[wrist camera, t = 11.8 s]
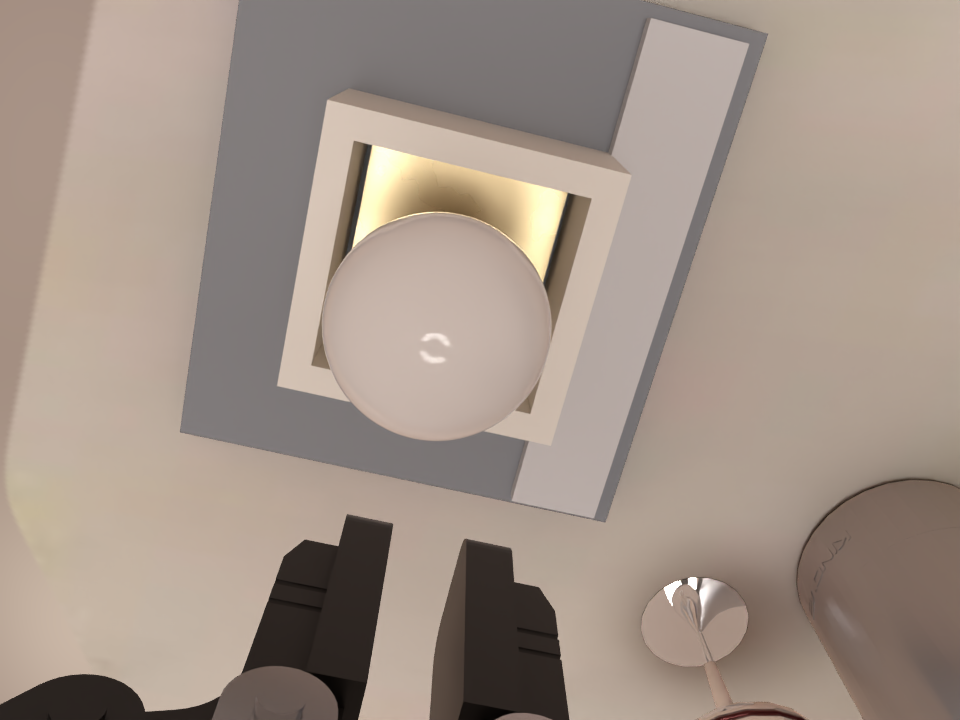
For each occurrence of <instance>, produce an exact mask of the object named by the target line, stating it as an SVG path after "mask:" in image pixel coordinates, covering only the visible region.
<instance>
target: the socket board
mask: <svg viewBox="0 0 960 720" xmlns="http://www.w3.org/2000/svg"><path fill="white" fill-rule="evenodd" d="M767 36H768V34H767V33H763V32H759V31H755V30H752V29H748V28H744V27H740V26H736V25H733V24H729V23H725V22H721V21H718V20H714V19H710V18H706V17H702V16H699V15H695V14H691V13H687V12H684V11H680V10H676V9H672V8H668V7H665V6H661V5H657V4H653V3H650V2H646V1H642V0H239V5H238V12H237V19H236V27H235V34H234V41H233V49H232V56H231V63H230V70H229V78H228V85H227V92H226V100H225V107H224V114H223V122H222V129H221V136H220V143H219V151H218V158H217V165H216V173H215V180H214V187H213V194H212V202H211V209H210V216H209V224H208V231H207V238H206V245H205V253H204V260H203V267H202V275H201V282H200V289H199V297H198V304H197V311H196V318H195V326H194V333H193V340H192V348H191V355H190V362H189V369H188V377H187V384H186V391H185V399H184V406H183V413H182V421H181V428H180V432H181V433H186V434H191V435H195V436H200V437H205V438H209V439H214V440H219V441H224V442H228V443H233V444H238V445H243V446H247V447H252V448H257V449H261V450H266V451H271V452H276V453H280V454H285V455H290V456H294V457H299V458H304V459H309V460H313V461H318V462H323V463H327V464H332V465H337V466H342V467H346V468H351V469H356V470H361V471H365V472H370V473H375V474H379V475H384V476H389V477H394V478H398V479H403V480H408V481H412V482H417V483H422V484H427V485H431V486H436V487H441V488H446V489H450V490H455V491H460V492H464V493H469V494H474V495H479V496H483V497H488V498H493V499H497V500H502V501H507V502H512V503H516V504H521V505H526V506H530V507H535V508H540V509H545V510H549V511H554V512H559V513H564V514H568V515H573V516H578V517H582V518H587V519H592V520H597V521H601V522H606V519H607V516H608V513H609V510H610V507H611V504H612V501H613V498H614V495H615V492H616V489H617V486H618V483H619V480H620V477H621V474H622V471H623V468H624V465H625V462H626V459H627V456H628V453H629V450H630V447H631V444H632V441H633V438H634V435H635V432H636V429H637V426H638V423H639V420H640V417H641V414H642V411H643V408H644V405H645V402H646V399H647V396H648V393H649V390H650V387H651V384H652V381H653V378H654V375H655V372H656V369H657V366H658V363H659V360H660V357H661V354H662V351H663V348H664V345H665V342H666V339H667V336H668V333H669V330H670V327H671V324H672V321H673V318H674V315H675V312H676V309H677V306H678V303H679V300H680V297H681V294H682V291H683V288H684V285H685V282H686V279H687V276H688V273H689V270H690V267H691V264H692V261H693V258H694V255H695V252H696V249H697V246H698V243H699V240H700V237H701V234H702V231H703V228H704V225H705V222H706V219H707V216H708V213H709V210H710V207H711V204H712V201H713V198H714V195H715V192H716V189H717V186H718V183H719V180H720V177H721V174H722V171H723V168H724V165H725V162H726V159H727V156H728V153H729V150H730V147H731V144H732V141H733V138H734V135H735V132H736V129H737V126H738V123H739V120H740V117H741V114H742V111H743V108H744V105H745V102H746V99H747V96H748V93H749V90H750V87H751V84H752V81H753V78H754V75H755V72H756V69H757V66H758V63H759V60H760V57H761V54H762V51H763V48H764V45H765V42H766V39H767ZM372 145H374V146H378V147H382V148H386V149H390V150H394V151H399V152H403V153H407V154H411V155H415V156H419V157H423V158H427V159H431V160H435V161H440V162H444V163H448V164H452V165H456V166H460V167H464V168H468V169H472V170H476V171H481V172H485V173H489V174H493V175H497V176H501V177H505V178H509V179H513V180H517V181H522V182H526V183H530V184H534V185H538V186H542V187H546V188H550V189H554V190H559V191H563V192H567V193H568V194H567V197H566V201H565V205H564V208H563V212H562V215H561V219H560V223H559V226H558V230H557V234H556V237H555V241H554V244H553V248H552V252H551V255H550V259H549V263H548V266H547V270H546V273H545V277H544V281H543V284H544V287H545V290H546V293H547V297H548V301H549V305H550V312H551V325H552V329H551V342H550V348H549V353H548V357H547V360H546V363H545V366H544V369H543V371H542V374H541V376H540V378H539V380H538V382H537V383H536V385H535V387H534V388H533V390H532V391H531V393H530V394H529V395H528V397H527V398H526V399H525V400H524V402H523V403H522V404H521V405H520V406H519V407H518V408H517V409H516V410H515V411H514V412H513V413H511V414H510V415H509V416H508V417H506V418H505V419H504V420H502V421H501V422H499V423H498V424H496V425H495V426H493V427H491V428H489V429H487V430H485V431H483V432H480V433H478V434H475V435H472V436H469V437H465V438H461V439H456V440H448V441H425V440H418V439H413V438H408V437H405V436H401V435H398V434H396V433H393V432H391V431H389V430H387V429H385V428H383V427H381V426H379V425H377V424H376V423H374V422H373V421H371V420H370V419H369V418H367V417H366V416H365V415H363V414H362V413H361V412H360V411H359V410H358V409H357V408H356V407H355V406H354V405H353V404H352V403H351V402H350V401H349V399H348V398H347V397H346V396H345V394H344V393H343V392H342V390H341V389H340V387H339V385H338V384H337V382H336V380H335V378H334V376H333V374H332V372H331V369H330V367H329V364H328V361H327V358H326V354H325V350H324V345H323V337H322V314H323V307H324V302H325V298H326V294H327V291H328V288H329V285H330V282H331V280H332V278H333V276H334V274H335V272H336V270H337V268H338V267H339V265H340V264H341V262H342V261H343V259H344V258H345V257H346V255H347V254H348V253H349V252H350V251H351V249H352V247H353V242H354V237H355V231H356V226H357V221H358V216H359V211H360V206H361V201H362V196H363V191H364V185H365V180H366V175H367V170H368V165H369V160H370V155H371V150H372Z"/></svg>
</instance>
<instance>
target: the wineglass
mask: <svg viewBox="0 0 960 720" xmlns="http://www.w3.org/2000/svg"><path fill="white" fill-rule="evenodd" d="M747 624H748V612H747V608H746V604H745V602H744V600H743V599H742V598H741V596H740V595H739V594H738V592H737V591H736V590H734V589H733V588H731V587H730V586H728V585H727V584H725V583H724V582H721V581H717V580H713V579H710V578H688V579H685V580H681V581H677V582H674V583H672V584H670V585H669V586H667V587H665V588H664V589H662V590H660V591H659V592H658V593H657V594H656V595H655V596H654V597H653V598H652V599H651V600H650V601H649V602H648V604H647V607H646V609H645V611H644V613H643V615H642V624H641V632H642V635H643V638H644V641H645V644H646V645H647V646H648V647H649V649H650V650H651V651H652V652H653V654H654V655H656V656H657V657H659V658H661V659H662V660H664V661H665V662H667V663H671V664H675V665H679V666H702V665H704V668H705V672H706V675H707V679H708V682H709V686H710V689H711V692H712V696H713V699H714V703H715V706H716V709H714V710H712V711H710V712H709V713H707V714H705V715H703V716H701V717H700V718H698V719H696V720H809V719H808V718H806V717H805V716H803V715H801V714H800V713H798V712H797V711H795V710H793V709H792V708H789V707H785V706H781V705H778V704H774V703H770V702H736V703H733V702H732V699H731V697H730V695H729V692H728V690H727V688H726V686H725V683H724V681H723V679H722V676H721V674H720V672H719V670H718V667H717V665H716V663H715V662H716V661H718V660H719V659H721V658H723V657H725V656H726V655H728V654H730V653H731V652H732V651H733V650H734V649H735V648H736V647H737V646H738V645H739V644H740V642H741V640H742V638H743V636H744V634H745V632H746V630H747Z"/></svg>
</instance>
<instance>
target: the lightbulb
mask: <svg viewBox="0 0 960 720" xmlns="http://www.w3.org/2000/svg"><path fill="white" fill-rule="evenodd" d="M551 329H552V325H551V312H550V305H549V301H548V297H547V293H546V290H545V287H544V284H543V282H542V280H541V278H540V275H539V274H538V272H537V270H536V268H535V266H534V265H533V263H532V262H531V260H530V259H529V258H528V256H527V255H526V254H525V253H524V251H523V250H522V249H521V248H520V247H519V246H518V245H517V244H516V243H515V242H514V241H513V240H512V239H510V238H509V237H508V236H507V235H505V234H504V233H503V232H501V231H500V230H498V229H497V228H495V227H493V226H491V225H490V224H488V223H485V222H483V221H481V220H479V219H476V218H473V217H470V216H466V215H462V214H458V213H451V212H422V213H416V214H411V215H407V216H403V217H400V218H397V219H395V220H392V221H390V222H388V223H386V224H384V225H382V226H380V227H378V228H377V229H375V230H374V231H372V232H371V233H369V234H368V235H366V236H365V237H364V238H363V239H362V240H360V241H359V242H358V243H357V244H356V245H355V246H354V247H353V248H352V249H351V251H350V252H349V253H348V254H347V255H346V257H345V258H344V259H343V261H342V262H341V264H340V265H339V267H338V268H337V270H336V272H335V274H334V276H333V278H332V280H331V282H330V285H329V288H328V291H327V294H326V298H325V302H324V307H323V314H322V337H323V345H324V350H325V354H326V358H327V361H328V364H329V367H330V369H331V372H332V374H333V376H334V378H335V380H336V382H337V384H338V385H339V387H340V389H341V390H342V392H343V393H344V394H345V396H346V397H347V398H348V399H349V401H350V402H351V403H352V404H353V405H354V406H355V407H356V408H357V409H358V410H359V411H360V412H361V413H362V414H363V415H365V416H366V417H367V418H369V419H370V420H371V421H373V422H374V423H376V424H377V425H379V426H381V427H383V428H385V429H387V430H389V431H391V432H393V433H396V434H398V435H401V436H405V437H408V438H413V439H418V440H425V441H448V440H456V439H461V438H465V437H469V436H472V435H475V434H478V433H480V432H483V431H485V430H487V429H489V428H491V427H493V426H495V425H496V424H498V423H499V422H501V421H502V420H504V419H505V418H506V417H508V416H509V415H510V414H511V413H513V412H514V411H515V410H516V409H517V408H518V407H519V406H520V405H521V404H522V403H523V402H524V400H525V399H526V398H527V397H528V395H529V394H530V393H531V391H532V390H533V388H534V387H535V385H536V383H537V382H538V380H539V378H540V376H541V374H542V371H543V369H544V366H545V363H546V360H547V357H548V353H549V348H550V342H551Z"/></svg>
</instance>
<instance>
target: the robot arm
mask: <svg viewBox="0 0 960 720" xmlns="http://www.w3.org/2000/svg"><path fill="white" fill-rule="evenodd" d="M392 529H393V524H392V523H387V522H382V521H377V520H372V519H368V518H363V517H358V516H353V515H348V514H347V516H346V520H345V524H344V528H343V531H342V535H341V539H340V543H339V546H334V545H329V544H324V543H319V542H314V541H309V540H304V541H303V542H301V543H300V544H299V545H298V546H296V547H295V548H294V549H293V550H291V551H290V552H289V553H288V554H286V555H285V556H284V558H283V561H282V563H281V566H280V569H279V572H278V574H277V577H276V581H275V583H274V586H273V588H272V591H271V594H270V597H269V601H268V602H267V605H266V608H265V610H264V613H263V616H262V619H261V622H260V624H259V627H258V630H257V633H256V635H255V638H254V641H253V644H252V647H251V649H250V652H249V655H248V658H247V660H246V663H245V666H244V669H243V671H242V673H241V675H239V676H237V677H236V678H234V679H233V680H232V681H231V682H230V683H228V685H227V686H226V687H225V688H224V690H223V692H222V694H221V696H220V697H218V698H216V699H214V700H212V701H210V702H208V703H205V704H202V705H199V706H195V707H191V708H186V709H178V710H166V711H151V712H145V709H144V706H143V703H142V701H141V699H140V698H139V696H138V695H137V694H136V693H135V692H134V691H133V690H132V689H131V688H130V687H128V686H127V685H125V684H124V683H122V682H120V681H117V680H115V679H112V678H109V677H105V676H99V675H87V674H82V675H70V676H64V677H59V678H56V679H53V680H50V681H47V682H45V683H42V684H40V685H38V686H36V687H34V688H32V689H30V690H28V691H26V692H24V693H22V694H20V695H18V696H16V697H14V698H12V699H10V700H8V701H6V702H4V703H3V704H1V705H0V720H358V717H359V713H360V709H361V705H362V701H363V697H364V693H365V689H366V684H367V679H368V673H369V667H370V661H371V655H372V649H373V643H374V637H375V631H376V625H377V619H378V613H379V607H380V601H381V595H382V589H383V583H384V577H385V571H386V565H387V559H388V553H389V547H390V541H391V535H392ZM797 588H798V593H799V598H800V603H801V605H802V607H803V609H804V611H805V613H806V615H807V617H808V619H809V621H810V623H811V625H812V627H813V628H814V630H815V632H816V634H817V636H818V637H819V639H820V641H821V643H822V645H823V646H824V648H825V650H826V652H827V654H828V656H829V657H830V659H831V661H832V663H833V665H834V667H835V669H836V671H837V673H838V674H839V676H840V678H841V680H842V682H843V683H844V685H845V687H846V689H847V691H848V692H849V694H850V696H851V698H852V700H853V701H854V703H855V705H856V707H857V709H858V710H859V712H860V714H861V716H862V718H863V719H864V720H960V489H959V488H957V487H955V486H953V485H949V484H944V483H940V482H936V481H927V480H906V481H900V482H893V483H887V484H884V485H881V486H878V487H875V488H872V489H870V490H867V491H864V492H862V493H861V494H859V495H857V496H855V497H853V498H851V499H850V500H848V501H846V502H845V503H843V504H842V505H841V506H840V507H838V508H837V509H836V510H835V511H833V512H832V513H831V514H830V515H828V516H827V517H826V519H825V520H824V521H823V522H822V523H821V524H820V525H819V527H818V528H817V529H816V530H815V531H814V533H813V534H812V536H811V538H810V540H809V542H808V543H807V545H806V547H805V549H804V551H803V554H802V557H801V561H800V564H799V567H798V581H797ZM557 638H558V631H557V623H556V616H555V611H554V609H553V608H552V606H551V605H550V603H549V602H548V600H547V599H546V597H545V596H544V594H543V593H542V591H541V590H540V588H539V587H535V586H530V585H525V584H520V583H515V582H514V574H513V559H512V550H511V548H507V547H502V546H498V545H493V544H488V543H483V542H478V541H474V540H469V539H465V540H464V541H463V544H462V546H461V549H460V553H459V556H458V560H457V564H456V568H455V571H454V575H453V579H452V582H451V586H450V590H449V593H448V597H447V601H446V604H445V608H444V612H443V615H442V619H441V623H440V627H439V632H438V637H437V642H436V647H435V654H434V662H433V676H432V691H431V706H430V720H569V714H568V706H567V699H566V691H565V684H564V676H563V669H562V661H561V660H560V656H561V654H560V646H559V640H557Z"/></svg>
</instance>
